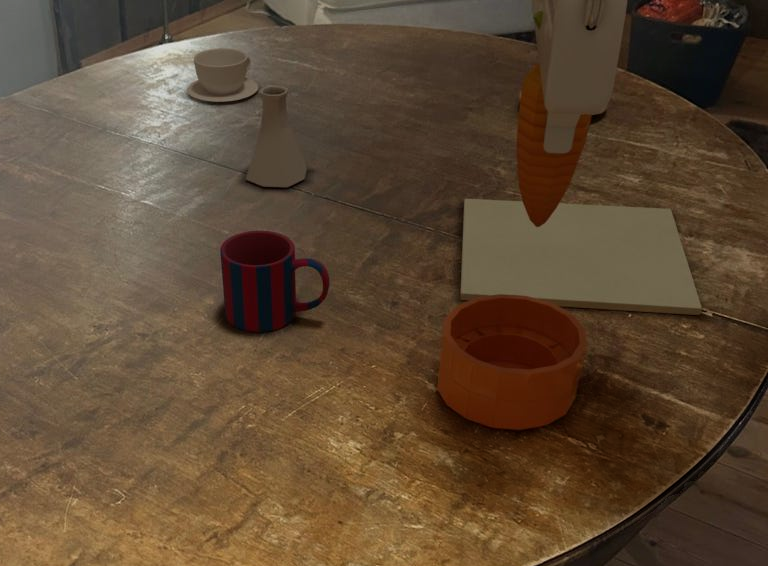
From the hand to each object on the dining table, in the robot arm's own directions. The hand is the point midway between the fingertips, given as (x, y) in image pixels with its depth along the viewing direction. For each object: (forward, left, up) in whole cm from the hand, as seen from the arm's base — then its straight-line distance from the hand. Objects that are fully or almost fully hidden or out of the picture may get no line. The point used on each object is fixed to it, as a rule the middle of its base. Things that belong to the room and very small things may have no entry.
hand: (553, 129), depth 63 cm
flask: (+26, -39, -22) cm, 52 cm away
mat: (-7, -24, -22) cm, 33 cm away
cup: (+21, -9, -22) cm, 32 cm away
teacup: (+38, -65, -22) cm, 78 cm away
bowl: (0, 0, -22) cm, 22 cm away
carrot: (0, 0, -7) cm, 7 cm away
